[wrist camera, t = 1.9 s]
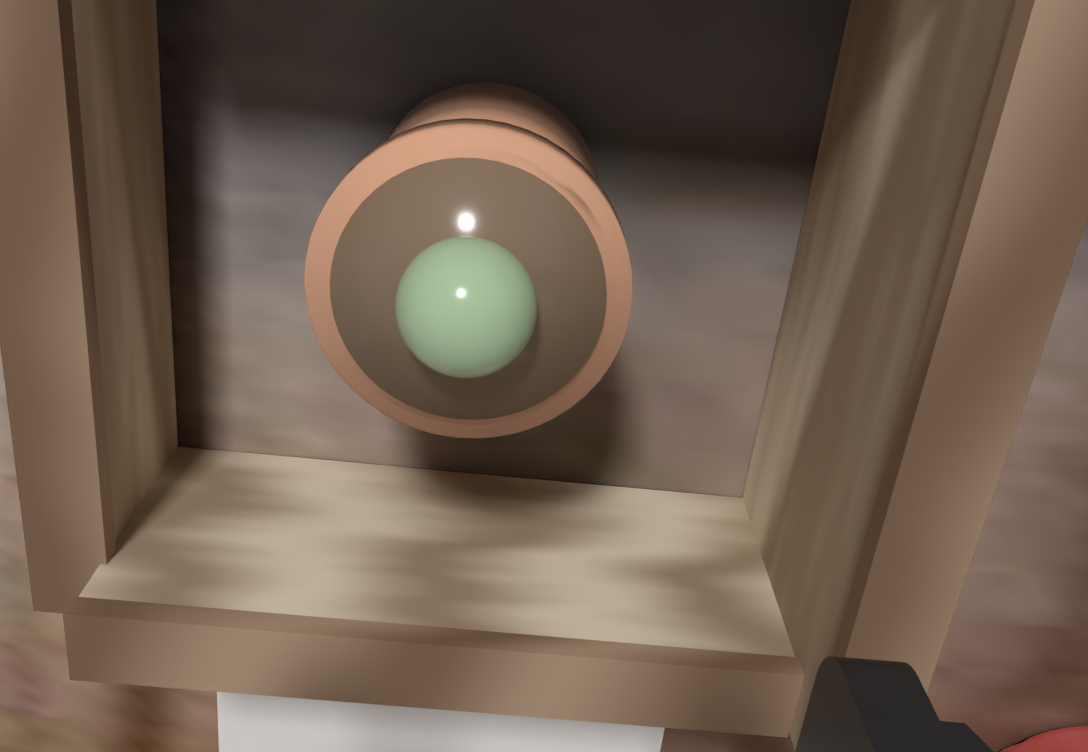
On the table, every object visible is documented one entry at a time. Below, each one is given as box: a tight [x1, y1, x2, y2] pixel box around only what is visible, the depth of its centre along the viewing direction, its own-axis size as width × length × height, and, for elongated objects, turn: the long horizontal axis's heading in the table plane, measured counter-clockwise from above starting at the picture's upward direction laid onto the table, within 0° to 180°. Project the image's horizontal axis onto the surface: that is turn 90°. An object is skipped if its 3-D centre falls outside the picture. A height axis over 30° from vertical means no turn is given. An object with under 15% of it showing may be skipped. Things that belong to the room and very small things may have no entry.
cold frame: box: [0, 0, 1088, 751], centre depth 21 cm, size 19×19×10 cm
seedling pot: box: [304, 82, 633, 438], centre depth 22 cm, size 6×6×9 cm
